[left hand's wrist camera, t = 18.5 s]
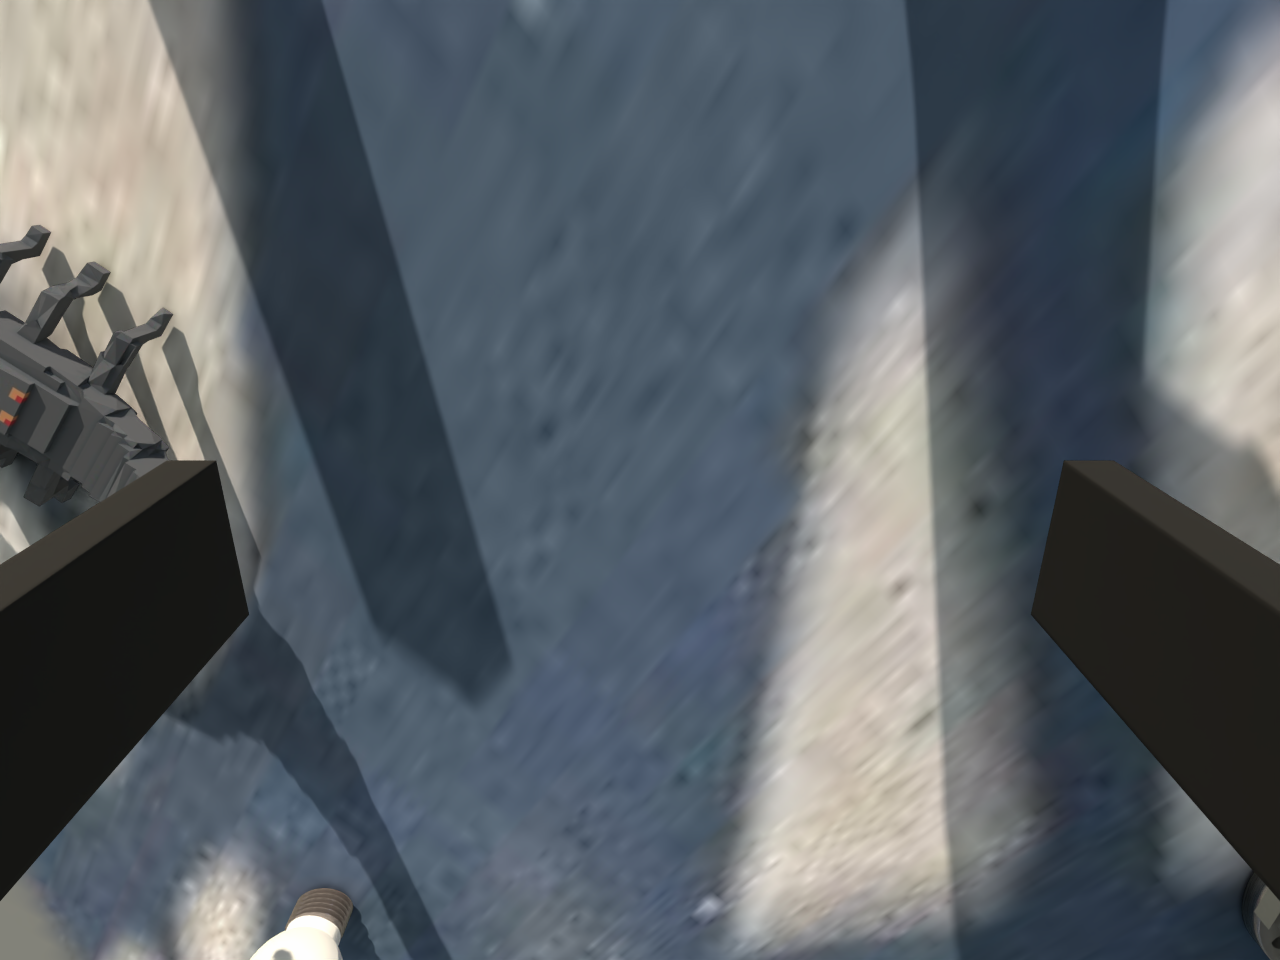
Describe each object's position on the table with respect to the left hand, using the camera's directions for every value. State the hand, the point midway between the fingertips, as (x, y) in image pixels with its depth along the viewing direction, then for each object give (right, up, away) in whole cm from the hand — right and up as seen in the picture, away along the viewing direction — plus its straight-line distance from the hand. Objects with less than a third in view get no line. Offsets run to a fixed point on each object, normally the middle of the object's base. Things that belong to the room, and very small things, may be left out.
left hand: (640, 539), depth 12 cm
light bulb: (-23, -30, +45) cm, 59 cm away
